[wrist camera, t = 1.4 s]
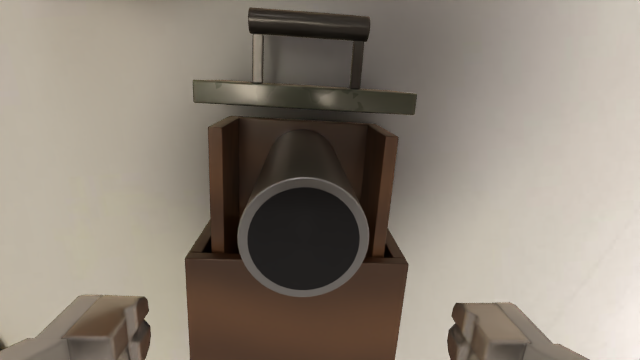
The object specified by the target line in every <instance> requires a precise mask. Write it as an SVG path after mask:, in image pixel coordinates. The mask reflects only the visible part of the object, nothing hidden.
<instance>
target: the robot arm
mask: <svg viewBox="0 0 640 360" xmlns="http://www.w3.org/2000/svg"><path fill="white" fill-rule="evenodd" d="M148 312H149V308H148V300H147V299H146V298H145V297H143V296H118V295H81V296H78V297H77V298H76V299H75V300H74V301H73V302H72V303H71V304H70V305H69V306H68V307H67V308H66V309H65V310H64V311H63V312H62V313H61V314H59V315H58V316H57V317H56V318H55V319H54V320H53V321H52V322H51V323H50V324H49V325H48V326H47V327H46V328H45V329H44V330H43V331H42V332H41V333H40V334H39V335H38V336H36V337H35V338H27V339H25V340H23V341H20V342H18V343H16V344H14V345H12V346H10V347H7V348H5V349H3V350H1V351H0V360H145V358H146V356H147V352H148V349H149V345H150V337H151V332H150V325H149V324H148V323H147V322H146V321H145V320H144V318H145V316H146V315H147V313H148ZM452 318H453V319H454V321H455V324H454V325H453V326H452V327H451V328H450V330H449V333H448V339H447V343H448V352H449V355H450V358H451V360H589V359H587V358H585V357H584V356H582V355H580V354H578V353H576V352H574V351H572V350H570V349H568V348H566V347H564V346H562V345H560V344H553V343H552V342H551V341H550V340H549V339H548V338H547V337H546V336H545V335H544V334H543V333H542V332H541V331H540V330H539V329H538V328H537V327H536V326H535V324H534V323H533V322H532V321H531V320H530V319H529V318H528V317H527V316H526V315H525V314H524V313H523V312H522V311H521V310H520V309H519V308H518V307H517V306H516V305H514V304H512V303H510V302H505V303H456V304H455V306H454V308H453V312H452Z"/></svg>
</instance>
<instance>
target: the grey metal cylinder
mask: <svg viewBox="0 0 640 360" xmlns="http://www.w3.org/2000/svg"><path fill="white" fill-rule="evenodd" d="M237 238H238V248H239V252H240V255H241V258H242V260H243V262H244V264H245V266H246V268H247V269H248V271H249V272H250V273H251V274H252V276H253V277H254V278H255V279H256V280H257V281H259V282H260V283H261V284H262V285H264V286H265V287H267V288H269V289H271V290H273V291H275V292H277V293H280V294H283V295H287V296H293V297H312V296H318V295H322V294H325V293H328V292H330V291H332V290H334V289H336V288H338V287H340V286H341V285H343V284H344V283H346V282H347V281H348V280H349V279H350V278H351V277H352V276H353V275H354V274H355V273H356V272H357V270H358V269H359V267H360V266H361V264H362V262H363V260H364V258H365V255H366V253H367V249H368V244H369V227H368V223H367V219H366V216H365V214H364V211H363V209H362V207H361V205H360V203H359V201H358V199H357V197H356V195H355V193H354V191H353V189H352V186H351V184H350V182H349V180H348V178H347V176H346V174H345V172H344V170H343V168H342V166H341V164H340V161H339V159H338V157H337V155H336V153H335V151H334V149H333V147H332V145H331V144H330V143H329V141H328V140H327V139H326V138H325V137H323V136H322V135H320V134H319V133H316V132H314V131H311V130H305V129H299V130H293V131H290V132H287V133H285V134H284V135H282V136H281V137H279V138H278V139H277V140H276V141H275V143H274V144H273V145H272V147H271V149H270V151H269V154H268V156H267V158H266V161H265V163H264V165H263V168H262V170H261V172H260V175H259V177H258V179H257V182H256V184H255V186H254V189H253V191H252V193H251V196H250V198H249V200H248V203H247V205H246V207H245V210H244V212H243V214H242V217H241V219H240V223H239V227H238V235H237Z"/></svg>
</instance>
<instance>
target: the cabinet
mask: <svg viewBox="0 0 640 360" xmlns="http://www.w3.org/2000/svg"><path fill="white" fill-rule="evenodd" d="M185 269H186V289H187V308H188V327H189V346H190V360H395V354H396V347H397V340H398V333H399V327H400V320H401V313H402V306H403V299H404V292H405V286H406V279H407V272H408V263H407V261H406V259H405V257H404V255H403V254H402V252H401V250H400V249H399V247H398V245H397V243H396V242H395V240H394V238H393V237H392V235H391V233H390V232H389V230H388V228H387V235H386V243H385V251H384V258H372V257H365V258H364V260H363V262H362V264H361V266H360V267H359V269H358V270H357V272H356V273H355V274H354V275H353V276H352V277H351V278H350V279H349V280H348V281H347V282H346V283H344V284H343V285H341V286H340V287H338V288H336V289H334V290H332V291H330V292H328V293H325V294H322V295H318V296H312V297H293V296H287V295H283V294H280V293H277V292H275V291H273V290H271V289H269V288H267V287H265V286H264V285H262V284H261V283H260V282H259V281H257V280H256V279H255V278H254V277H253V276H252V274H251V273H250V272H249V271H248V269H247V268H246V266H245V264H244V262H243V260H242V258H241V255H240V254H228V253H212V248H211V219H210V220H209V222H208V224H207V225H206V227H205V228H204V230H203V231H202V233H201V234H200V236H199V237H198V239H197V241H196V242H195V244H194V245H193V247H192V248H191V250H190V251H189V253H188V255H187V256H186V258H185Z"/></svg>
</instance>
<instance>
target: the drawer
mask: <svg viewBox="0 0 640 360" xmlns="http://www.w3.org/2000/svg"><path fill="white" fill-rule="evenodd" d="M248 25H249V32H250V33H251V34H253V70H252V82H247V81H231V80H193V101H194V102H195V103H209V104H227V105H244V106H262V107H279V108H297V109H314V110H332V111H349V112H367V113H384V114H402V115H414V114H415V106H416V99H417V94H415V93H406V92H398V91H390V90H376V89H360V83H361V72H362V61H363V50H364V42H367V40H368V37H369V32H370V17H369V16H356V15H343V14H330V13H317V12H304V11H291V10H278V9H265V8H252V7H250V8H249V13H248ZM264 35H277V36H291V37H305V38H319V39H333V40H347V41H354V42H353V49H352V61H351V73H350V86H349V88H344V87H328V86H312V85H295V84H279V83H263V61H264ZM299 129H305V130H311V131H314V132H316V133H319V134H320V135H322V136H323V137H325V138H326V139H327V140H328V141H329V143H330V144H331V145H332V147H333V149H334V151H335V153H336V155H337V157H338V159H339V161H340V164H341V166H342V168H343V170H344V172H345V174H346V176H347V178H348V180H349V182H350V184H351V186H352V189H353V191H354V193H355V195H356V197H357V199H358V201H359V203H360V205H361V207H362V209H363V211H364V214H365V216H366V219H367V223H368V227H369V244H368V249H367V253H366V255H365V257H372V258H384V251H385V243H386V235H387V227H388V219H389V211H390V202H391V194H392V186H393V178H394V170H395V162H396V154H397V146H398V137H397V136H396V135H394V134H392V133H391V132H389V131H387V130H385V129H384V128H382V127H380V126H379V125H377V124H371V123H353V122H334V121H316V120H298V119H280V118H262V117H243V116H229V117H227V118H225V119H223V120H221V121H219V122H217V123H215V124H213V125H211V126H209V127H208V143H209V178H210V213H211V248H212V253H228V254H240V252H239V248H238V238H237V235H238V227H239V223H240V219H241V217H242V214H243V212H244V210H245V207H246V205H247V203H248V200H249V198H250V196H251V193H252V191H253V189H254V186H255V184H256V182H257V179H258V177H259V175H260V172H261V170H262V168H263V165H264V163H265V161H266V158H267V156H268V154H269V151H270V149H271V147H272V145H273V144H274V143H275V141H276V140H277V139H278V138H279V137H281V136H282V135H284V134H285V133H287V132H290V131H293V130H299Z"/></svg>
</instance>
